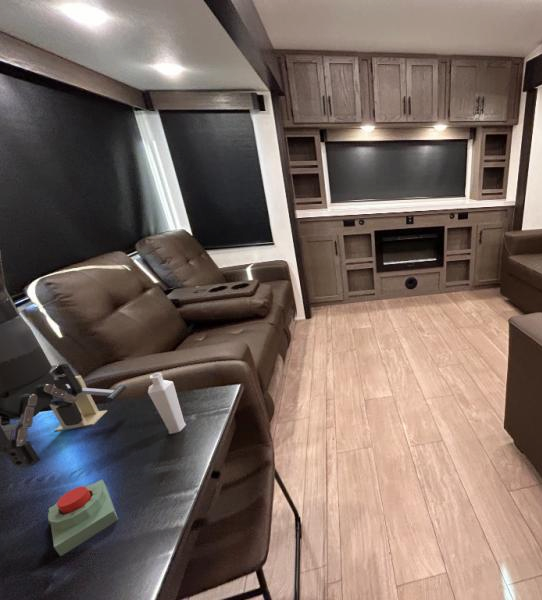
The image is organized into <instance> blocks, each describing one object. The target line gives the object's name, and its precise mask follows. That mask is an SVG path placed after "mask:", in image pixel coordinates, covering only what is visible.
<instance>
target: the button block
mask: <svg viewBox="0 0 542 600" xmlns="http://www.w3.org/2000/svg"><path fill="white" fill-rule="evenodd" d="M85 487H87V489H88V491H89V492H90V494H91V499H90V500H89V501H88V502H87V503H86V504H85V505H84V506H83V507H81V508H79V509H78V510H76V511H74V512H72V513H68V514H63V513H62V512H61V511H60V509H59V507H58V506H57V502H56V503H55V504H53V506H50V507H49V508H48V513H47V519H48V520H47V521H48V523H49V524H50V528H51V535H52V543H53V548H54V550H55V551H56V553H57V555H58V556H59V557H62V556H64V555H65V554H67V553H68V552H70V551H71V550H73V549H74V548H77V547H78V546H80V545H81V544H82V543H84V542H86V541H87V540H89V539H90V538H92V537H94V536H95V535H97V534H98V533H100V532H101V531H103V530H105V529H106V528H108V527H110V526H111V525H112V524H114V523H116V522H118V521H119V518H118V515H117V512H116V509H115V506H114V503H113V501H112V498H111V496H110V491H109V490H108V487H107V485H106V483H105V481H104V480H103V479H100V480H98V481H95V482H94V483H92V484H88V485H85Z"/></svg>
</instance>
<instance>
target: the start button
mask: <svg viewBox="0 0 542 600" xmlns="http://www.w3.org/2000/svg"><path fill="white" fill-rule="evenodd" d="M85 486H86V485H85ZM85 486H83V485H81V486H77V487H75V488H73V489H70V490H69V491H67V492H66V493H64V494H63V495H61V497H60V498H59V499H58V500H57V502H56V503H57V506H58V507H59V509H60V511H61V512H62V513H63V514H68V513H72V512H74V511H76V510H78V509H79V508H81V507H83V506H84V505H85V504H86V503H87V502H88V501H89V500H90V499H91V494H90V492H89V491H88V489H87V487H85Z"/></svg>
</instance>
